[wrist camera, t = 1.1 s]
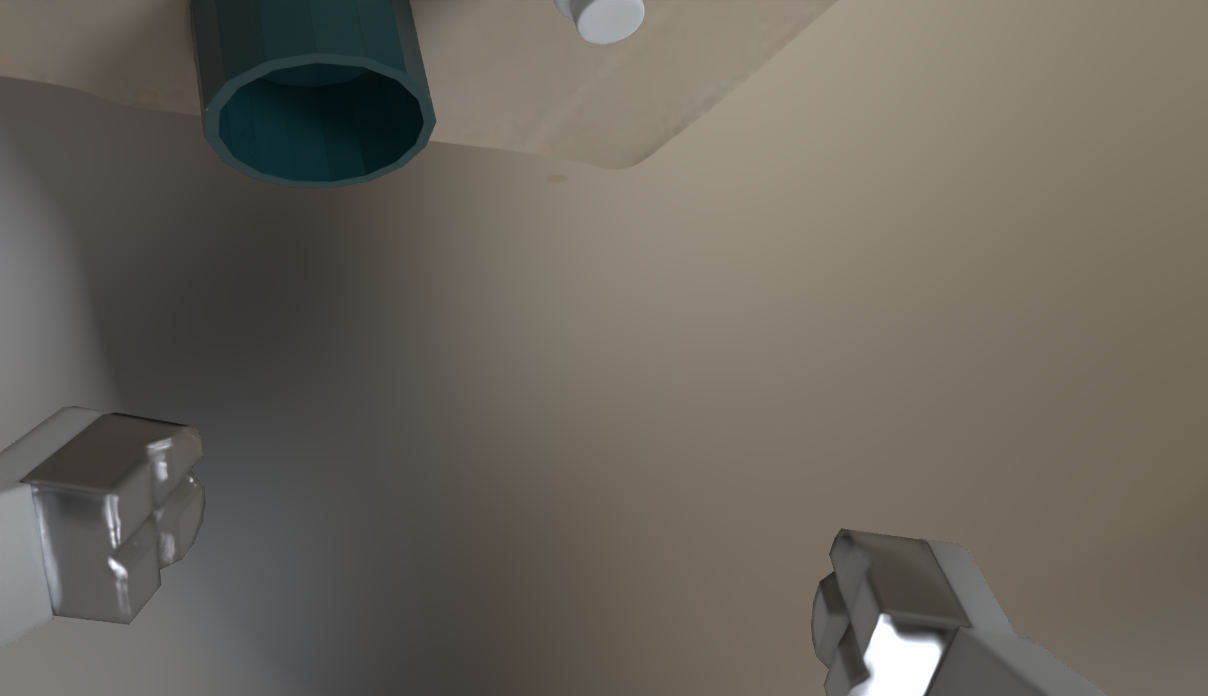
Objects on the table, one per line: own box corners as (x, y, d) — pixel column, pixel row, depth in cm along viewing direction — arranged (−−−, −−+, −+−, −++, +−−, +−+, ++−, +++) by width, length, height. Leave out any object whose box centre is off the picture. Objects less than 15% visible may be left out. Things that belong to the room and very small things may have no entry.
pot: (238, 101, 58) (252, 203, 56) (148, -45, 45) (162, 79, 43) (425, 69, 60) (446, 166, 58) (390, -81, 47) (416, 36, 45)
